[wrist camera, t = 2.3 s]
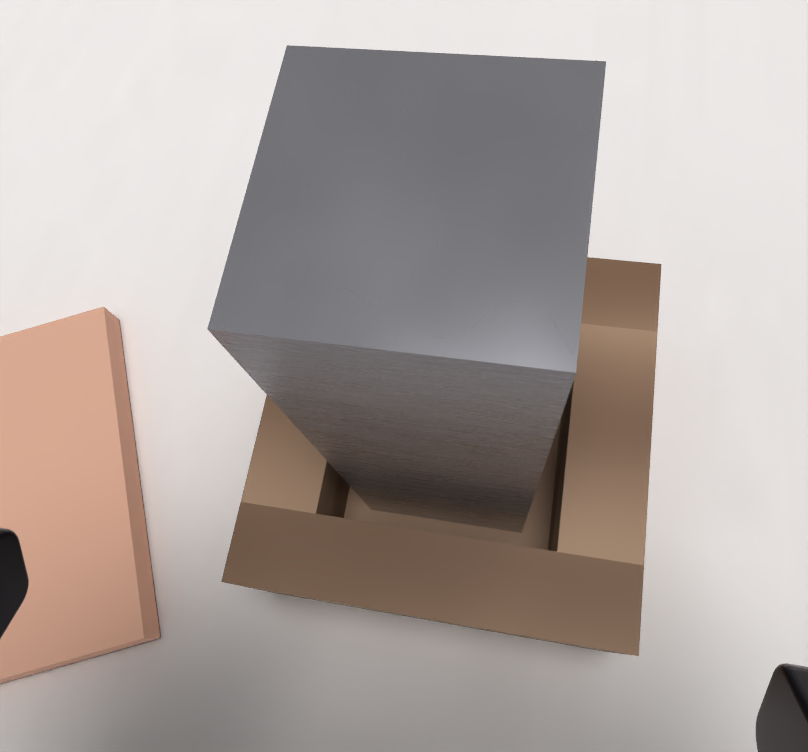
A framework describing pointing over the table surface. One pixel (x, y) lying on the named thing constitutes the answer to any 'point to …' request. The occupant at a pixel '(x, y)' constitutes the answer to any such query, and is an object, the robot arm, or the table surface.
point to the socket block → (480, 546)
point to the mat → (72, 496)
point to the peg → (419, 269)
